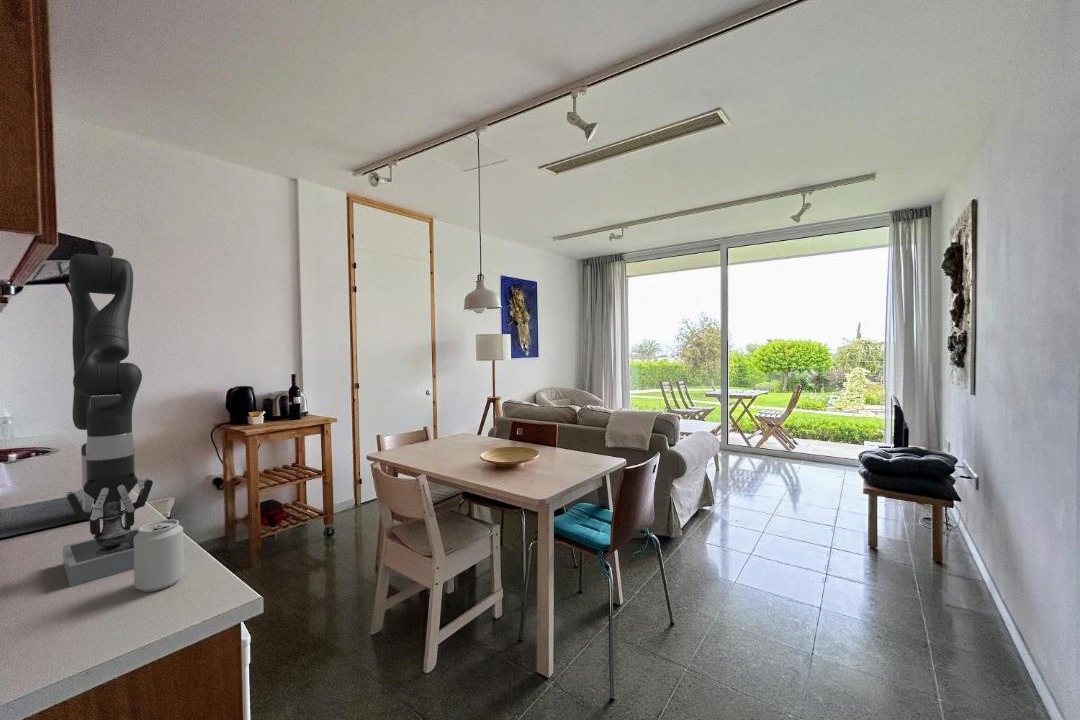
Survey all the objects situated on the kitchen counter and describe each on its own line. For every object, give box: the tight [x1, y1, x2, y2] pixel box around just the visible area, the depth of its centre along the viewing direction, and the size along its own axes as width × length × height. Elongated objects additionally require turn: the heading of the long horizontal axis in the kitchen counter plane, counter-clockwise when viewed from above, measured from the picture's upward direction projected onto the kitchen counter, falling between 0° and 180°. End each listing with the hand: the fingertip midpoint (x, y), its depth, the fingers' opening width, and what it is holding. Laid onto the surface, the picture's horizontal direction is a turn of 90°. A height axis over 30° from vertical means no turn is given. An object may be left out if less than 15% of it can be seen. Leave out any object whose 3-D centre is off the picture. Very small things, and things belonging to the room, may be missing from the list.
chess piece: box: [93, 500, 132, 556], centre depth 96 cm, size 6×6×12 cm
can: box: [133, 519, 185, 593], centre depth 88 cm, size 8×8×12 cm
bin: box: [62, 527, 140, 587], centre depth 96 cm, size 14×14×4 cm
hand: (112, 531), depth 96 cm, fingers closed on chess piece, 4 cm apart
